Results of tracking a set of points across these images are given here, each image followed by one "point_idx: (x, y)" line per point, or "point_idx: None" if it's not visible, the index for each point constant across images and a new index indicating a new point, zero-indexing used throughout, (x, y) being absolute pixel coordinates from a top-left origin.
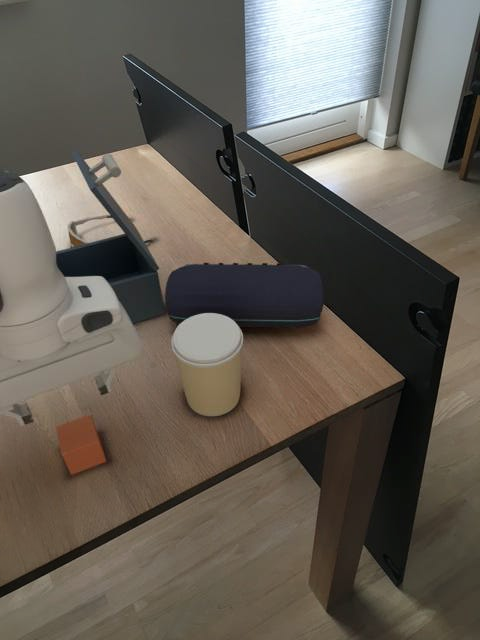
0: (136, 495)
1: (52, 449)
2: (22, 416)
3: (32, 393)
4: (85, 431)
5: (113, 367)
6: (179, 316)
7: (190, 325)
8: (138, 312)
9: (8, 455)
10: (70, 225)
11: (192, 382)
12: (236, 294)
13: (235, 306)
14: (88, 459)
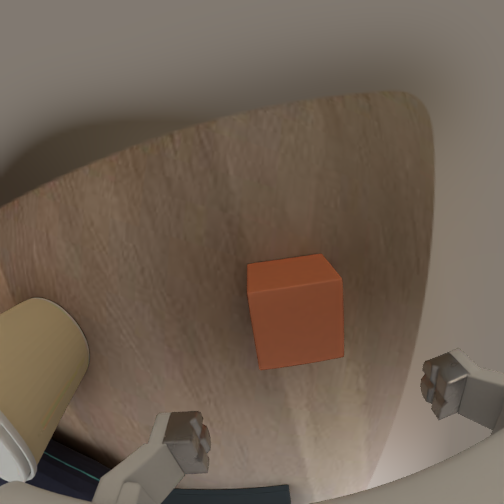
0: (193, 164)
1: (347, 321)
2: (467, 375)
3: (482, 468)
4: (278, 329)
5: (100, 495)
6: (96, 482)
7: (4, 469)
8: (172, 502)
9: (415, 325)
10: None
11: (17, 359)
12: None
13: None
14: (282, 268)
